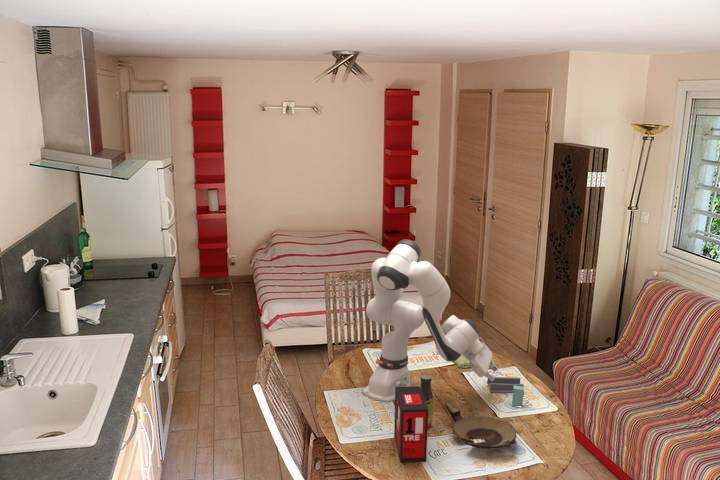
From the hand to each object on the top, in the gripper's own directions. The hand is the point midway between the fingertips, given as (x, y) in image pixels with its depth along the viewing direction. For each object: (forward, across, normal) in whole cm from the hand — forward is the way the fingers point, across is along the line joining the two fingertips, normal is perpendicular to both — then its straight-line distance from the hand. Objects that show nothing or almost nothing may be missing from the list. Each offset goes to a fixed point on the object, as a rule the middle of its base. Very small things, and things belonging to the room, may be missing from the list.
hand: (494, 374), depth 243 cm
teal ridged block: (+16, +1, +2) cm, 16 cm away
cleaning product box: (-8, -44, +26) cm, 52 cm away
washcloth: (-2, +36, +20) cm, 42 cm away
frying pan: (+8, -28, +10) cm, 31 cm away
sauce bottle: (-7, -27, +25) cm, 37 cm away
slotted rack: (+11, +14, +6) cm, 19 cm away
